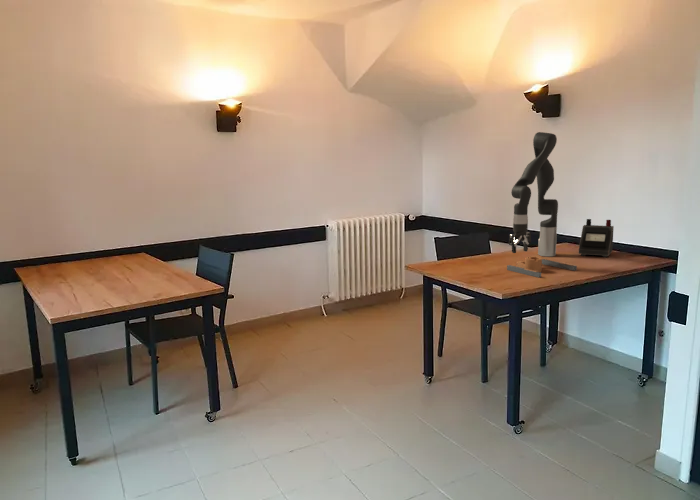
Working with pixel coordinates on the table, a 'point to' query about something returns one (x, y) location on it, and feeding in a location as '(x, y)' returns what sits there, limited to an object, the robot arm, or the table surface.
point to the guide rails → (545, 262)
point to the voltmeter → (596, 239)
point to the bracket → (531, 263)
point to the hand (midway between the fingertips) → (519, 252)
